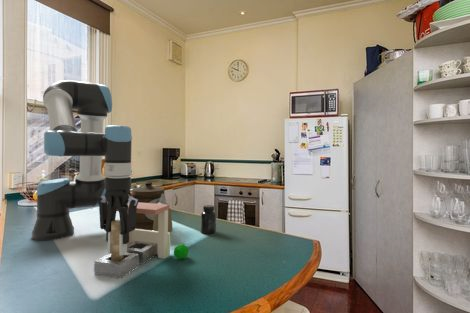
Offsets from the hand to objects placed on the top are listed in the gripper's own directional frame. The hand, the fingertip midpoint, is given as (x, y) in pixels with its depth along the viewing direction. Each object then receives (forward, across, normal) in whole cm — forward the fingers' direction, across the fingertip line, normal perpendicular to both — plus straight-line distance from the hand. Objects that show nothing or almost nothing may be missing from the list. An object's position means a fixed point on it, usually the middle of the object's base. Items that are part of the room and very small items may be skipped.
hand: (117, 252), depth 89 cm
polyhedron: (+6, +14, +15) cm, 21 cm away
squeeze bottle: (+6, -4, +34) cm, 35 cm away
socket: (+5, 0, 0) cm, 5 cm away
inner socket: (+5, 0, +11) cm, 12 cm away
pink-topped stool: (+5, 0, +11) cm, 13 cm away
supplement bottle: (+6, +12, +46) cm, 48 cm away
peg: (+4, 0, 0) cm, 4 cm away
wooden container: (+6, -18, +45) cm, 49 cm away
